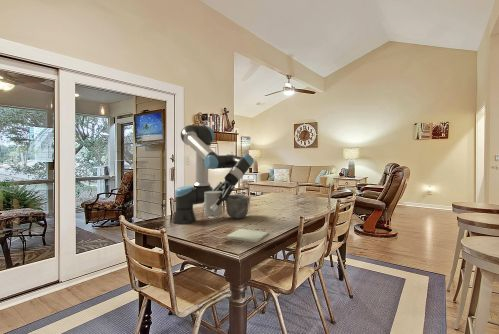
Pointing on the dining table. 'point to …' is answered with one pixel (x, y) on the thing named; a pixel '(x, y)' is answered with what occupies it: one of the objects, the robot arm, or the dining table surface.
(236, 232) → the sage placemat
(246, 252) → the dining table surface
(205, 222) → the dining table surface
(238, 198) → the grey round pot
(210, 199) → the light grey cylinder
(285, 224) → the dining table surface
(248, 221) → the dining table surface
